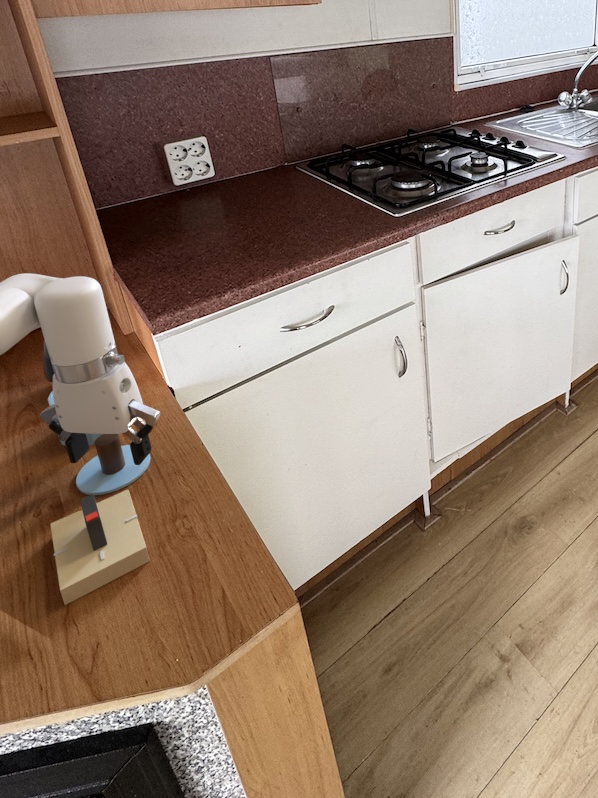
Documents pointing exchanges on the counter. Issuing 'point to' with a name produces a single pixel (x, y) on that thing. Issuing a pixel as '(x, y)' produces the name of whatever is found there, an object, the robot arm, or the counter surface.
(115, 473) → the pot lid
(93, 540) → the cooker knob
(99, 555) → the beige switch box
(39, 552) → the counter surface
